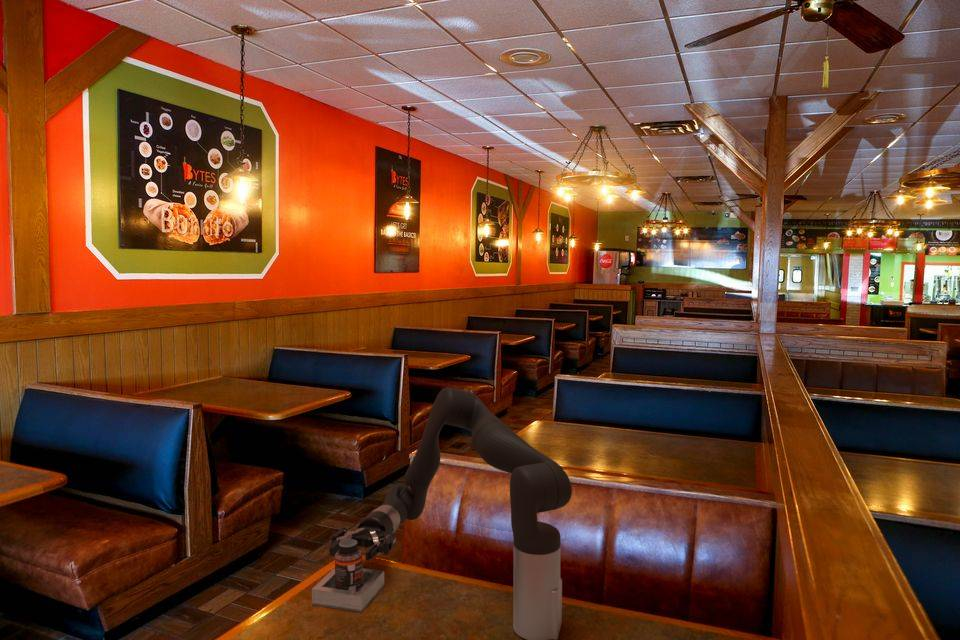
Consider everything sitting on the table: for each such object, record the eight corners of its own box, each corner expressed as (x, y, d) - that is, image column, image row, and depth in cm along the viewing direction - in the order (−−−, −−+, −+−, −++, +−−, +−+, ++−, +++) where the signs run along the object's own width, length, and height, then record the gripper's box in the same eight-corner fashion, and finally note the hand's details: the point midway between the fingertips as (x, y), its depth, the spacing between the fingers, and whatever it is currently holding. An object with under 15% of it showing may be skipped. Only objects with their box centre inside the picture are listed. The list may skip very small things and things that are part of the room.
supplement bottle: (360, 599, 136) (358, 549, 135) (332, 599, 136) (330, 549, 135) (366, 585, 142) (364, 536, 141) (339, 585, 142) (337, 536, 141)
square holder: (384, 585, 143) (384, 570, 143) (361, 612, 132) (361, 596, 132) (338, 579, 146) (337, 564, 146) (312, 604, 135) (311, 589, 135)
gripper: (353, 507, 156) (319, 534, 140) (407, 513, 152) (378, 541, 137) (353, 537, 157) (320, 567, 141) (407, 543, 153) (379, 575, 137)
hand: (349, 554), depth 139 cm, fingers open, 8 cm apart
